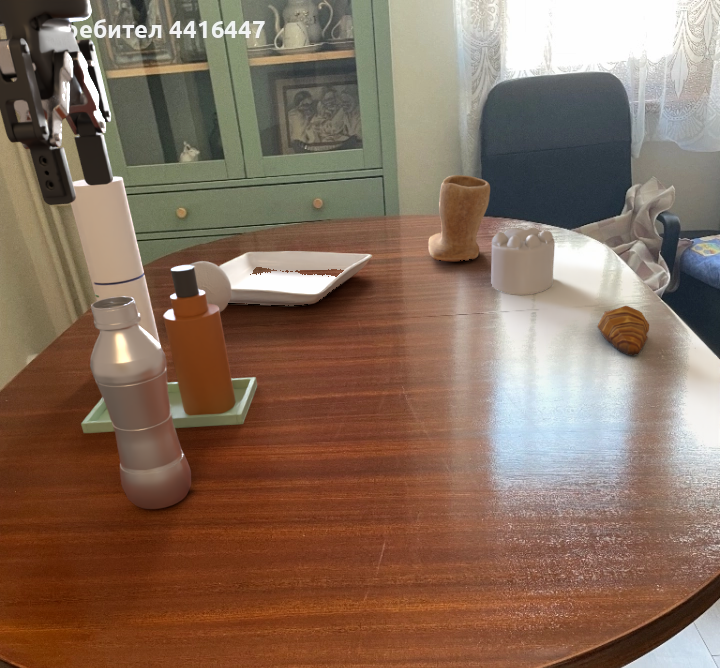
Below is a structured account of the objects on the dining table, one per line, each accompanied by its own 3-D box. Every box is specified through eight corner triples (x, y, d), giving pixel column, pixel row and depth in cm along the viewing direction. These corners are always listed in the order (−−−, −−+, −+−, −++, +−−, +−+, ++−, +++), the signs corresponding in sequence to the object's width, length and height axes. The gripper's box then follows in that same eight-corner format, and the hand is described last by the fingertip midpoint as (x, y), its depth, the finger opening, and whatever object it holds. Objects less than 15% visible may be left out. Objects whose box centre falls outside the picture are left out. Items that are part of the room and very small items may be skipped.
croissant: (587, 325, 105) (590, 291, 103) (636, 323, 105) (640, 289, 102) (605, 360, 94) (609, 323, 91) (659, 358, 93) (665, 320, 91)
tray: (84, 436, 86) (80, 423, 85) (114, 397, 96) (111, 385, 95) (243, 427, 85) (241, 414, 84) (257, 388, 95) (255, 376, 94)
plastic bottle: (141, 483, 75) (90, 293, 65) (204, 482, 75) (162, 289, 64) (117, 518, 70) (58, 316, 60) (184, 517, 69) (136, 312, 59)
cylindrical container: (138, 374, 102) (92, 186, 90) (103, 368, 106) (53, 186, 93) (173, 357, 108) (134, 176, 95) (138, 351, 111) (96, 176, 98)
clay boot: (490, 264, 138) (492, 180, 131) (428, 267, 140) (426, 184, 132) (486, 245, 151) (487, 168, 144) (428, 248, 153) (426, 172, 145)
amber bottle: (178, 418, 87) (146, 277, 79) (190, 396, 93) (161, 262, 84) (230, 415, 87) (204, 273, 78) (239, 393, 93) (216, 258, 84)
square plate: (320, 315, 119) (318, 291, 117) (179, 309, 129) (174, 287, 127) (374, 270, 141) (373, 250, 139) (250, 268, 150) (247, 249, 148)
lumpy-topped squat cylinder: (549, 272, 131) (552, 222, 126) (555, 293, 120) (558, 239, 115) (490, 274, 132) (491, 225, 128) (491, 295, 121) (492, 242, 117)
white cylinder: (236, 357, 106) (218, 252, 98) (251, 372, 100) (233, 262, 92) (188, 368, 103) (165, 261, 96) (200, 384, 98) (178, 272, 90)
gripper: (11, -44, 55) (69, 182, 64) (-95, -69, 43) (-6, 214, 52) (106, -53, 55) (153, 176, 63) (26, -81, 43) (97, 207, 51)
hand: (81, 193), depth 57 cm, fingers open, 8 cm apart
